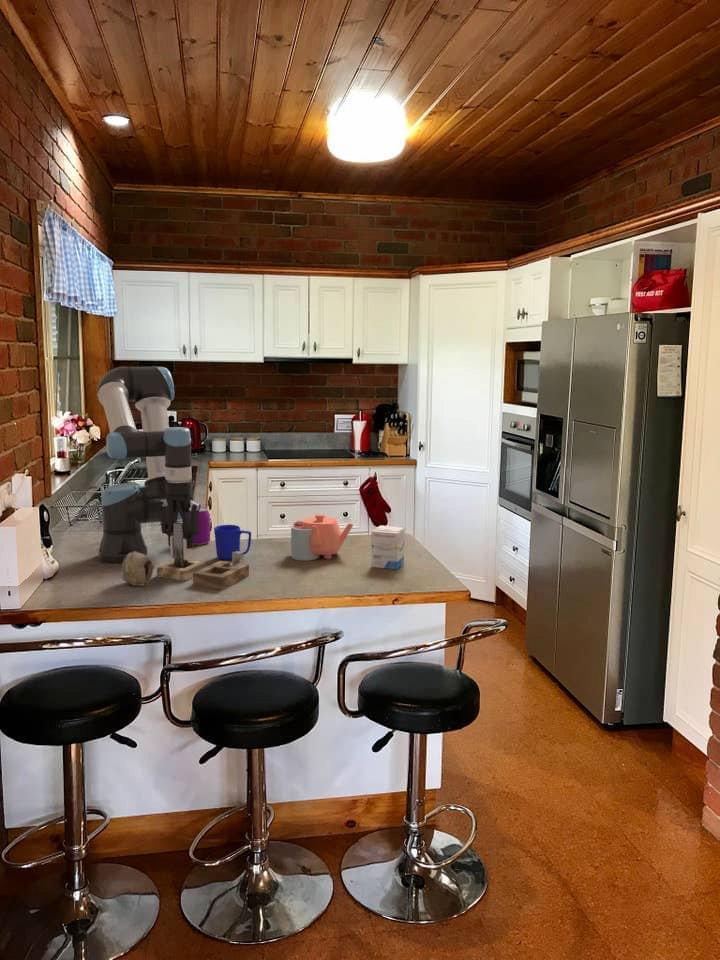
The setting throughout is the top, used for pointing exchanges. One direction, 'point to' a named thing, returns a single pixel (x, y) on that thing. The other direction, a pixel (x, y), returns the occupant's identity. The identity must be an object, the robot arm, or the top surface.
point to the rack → (179, 570)
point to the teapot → (324, 535)
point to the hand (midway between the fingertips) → (180, 557)
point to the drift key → (237, 558)
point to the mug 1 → (229, 540)
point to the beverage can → (202, 527)
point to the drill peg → (179, 545)
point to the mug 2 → (301, 543)
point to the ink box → (388, 547)
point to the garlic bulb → (137, 569)
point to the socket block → (220, 575)
